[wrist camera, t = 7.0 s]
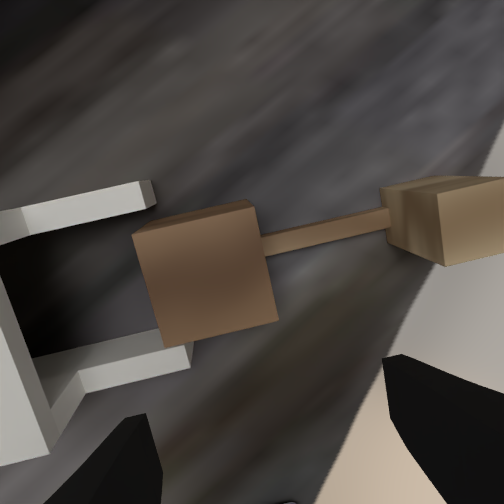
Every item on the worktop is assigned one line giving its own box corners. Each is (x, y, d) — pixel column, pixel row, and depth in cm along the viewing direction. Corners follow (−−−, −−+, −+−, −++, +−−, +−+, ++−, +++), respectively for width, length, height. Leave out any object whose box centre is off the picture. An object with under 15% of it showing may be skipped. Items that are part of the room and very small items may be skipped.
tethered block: (442, 247, 21) (516, 273, 16) (175, 310, 21) (161, 359, 16) (431, 156, 20) (508, 151, 15) (150, 220, 20) (125, 239, 14)
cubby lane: (194, 340, 21) (183, 420, 14) (-10, 390, 21) (-121, 496, 14) (150, 179, 19) (113, 183, 13) (-76, 230, 19) (-241, 263, 12)
